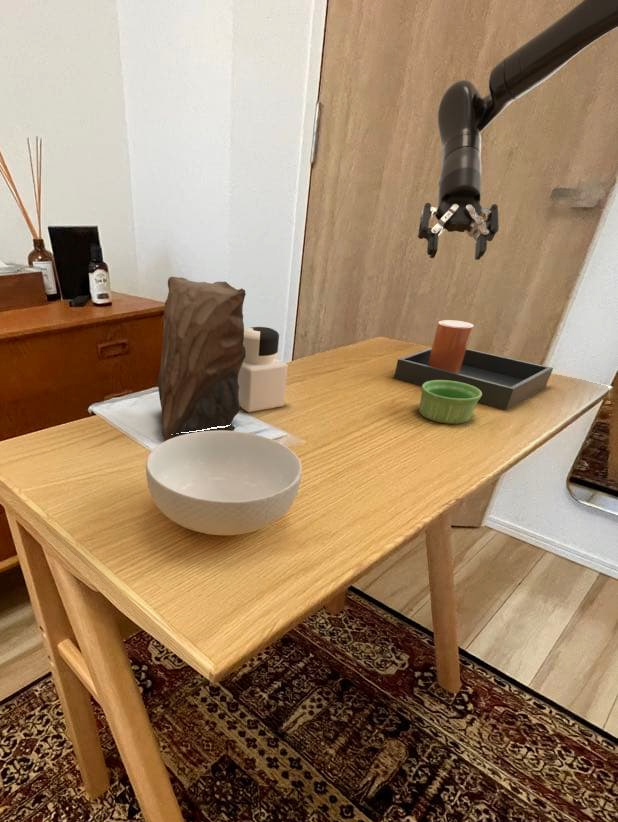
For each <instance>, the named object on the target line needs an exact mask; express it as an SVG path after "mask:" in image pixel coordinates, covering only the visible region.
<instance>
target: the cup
mask: <svg viewBox="0 0 618 822" xmlns="http://www.w3.org/2000/svg"><path fill="white" fill-rule="evenodd" d="M473 330H474V324H473V323H471V322H467V321H463V320H455V319H454V320H453V319H444V320H443V319H442V320H439V321H438V323H437V326H436V330H435V333H434V338H433V342H432V345H431V347H432V348H431V347H430V348H431V352H430V356H429V360H428V364H427V366H431V367H435V368H439V369H443V370H447V371H451V372H454V373H458V374H459V373H460V369H461V366H462V363H463V360H464V356H465V353H466V350H467V349H468V347H469V343H470V340H471V337H472V333H473Z"/></svg>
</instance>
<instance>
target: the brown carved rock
mask: <svg viewBox="0 0 618 822" xmlns="http://www.w3.org/2000/svg"><path fill="white" fill-rule="evenodd" d="M167 288H168V293H167V297H166V300H165V301H164V310H163V316H162V327H163V331H162V348H161V354H160V355H161V356H160V368H159V373H158V378H157V389H158V395H159V403H160V407H161V429H162V430H161V433H162V436H163V442H165V441H167V440H169V439H171V438H174V437H177V436H181V435H185V434H189V433H195V432H189V431H196V430H202V429H207V428H211V427H217V426H226V425H230V424H231V425H230V426H228V427H225V428H217V429H210V430H204V431H218V430H225V431H235V430H236V427H235V426H234V425H233V421H234V419H235V417H236V416H237V415H238V414H239V413H240V411H241V407H240V404H239V384H238V376H239V372H240V369H241V366H242V363H243V361H244V359H245V357H246V356H245V354H246V351H245V347H244V345H243V341H244V330H245V324H244V313H243V308H244V307H243V306H244V302H245V297H246V290H245V289H244V288H243V287H242V288H238V289H236V288H235V287H234V286H231V285H230V284H229V283H228V282H227V281H214V282H213V283H212V282H211V283H210V282H207V281H206V282H205V281H200V282H199V281H194V280H193V281H192V280H189V279H187V278H185V277H178V276H170V277H168V279H167ZM181 432H189V433H181ZM197 432H202V431H197ZM176 433H179V434H176ZM171 434H173V435H171Z"/></svg>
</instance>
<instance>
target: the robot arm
mask: <svg viewBox="0 0 618 822" xmlns="http://www.w3.org/2000/svg"><path fill="white" fill-rule="evenodd" d="M616 29H618V0H582V1H581V2H579V3H578V4H577V5H575V6H574V7H573V8H572V9H570V10H569V11H568V12H567V13H565V14H564V15H563V16H561V17H560V18H558V19H557V20H555V22H553V23H552V24H550V25H549V26H547V27H546V28H545V29H543V30H542V31H540V32H539V33H537V34H536V35H535V36H534V37H532V38H530V39H529V40H528V41H526V42H525V43H524V44H522V45H521V46H520V47H518V48H517V49H515V50H514V51H513V52H511V53H510V54H509V55H507V56H506V57H505V58H503V59H502V60H500V61H499V62H498V63H497V64H495V66H494V67H493V68H492V70H491V71H490V72H489V75H488V90H489V93H488V94H487V95H486V96H484V97H483V96H482V95H481V93H480V91H479V90H478V88H477V87H476V86H475V85H474V83H472V82H471V81H470V80H468V79H460V80H457V81H455V82H453V83H452V84H450V86H449V87H447V89H446V90H445V92H444V93H443V95H442V97H441V99H440V102H439V104H438V107H437V126H438V133H439V138H440V142H441V146H442V156H441V169H440V173H439V174H440V175H439V181H438V201H437V202H438V203H437V206H432V204H431V203H430V202H426V203H424V205H423V208H422V210H421V213H420V217H419V226H418V233H417V238H418V239H419V240H423V239H425V240H426V241H427V248H426V253H427V254H426V255H428V256H429V259H435V257H436V255H437V253H438V249H439V248H438V246H439V245H438V243H439V236H440V235H441V234H442V233H443V232H444V231H445V230H446V231H447V232H448V233H452V232H458V233H464V232H465V233H466V234H467V235H468V236H469V237H470V238H473V240H474V241H476V243H475V249H474V260H475V261H480V259H481V258H483V257H484V255H485V254H486V252H487V250H488V249H487V248H488V242H492V241H493V240H494V238H495V236H496V234H497V233H498V232H499V229H500V227H499V205H497V204H492V205H491V206H490V207H483V206H482V205H481V196H482V195H481V193H482V170H483V169H482V168H483V166H482V157H481V156H482V135H481V133H482V132H483V131H484V130H485V129H486V128H487V127H488V126H489V125H490V124H491V123H492V122H493V120H495V119H496V118H497V117H498V116H499V115H500V114H501V113H502V112H503V111H504V110H505V109H506V108H507V107H508V106H509V105H510V104H511V103H513V102H515V101H517V100H518V99H519V98H521V97H522V96H524V95H526V94H527V93H528V92H530V91H532V90H533V89H534V88H536V87H538V86H540V84H542V83H544V82H545V81H546V80H548V79H549V78H550V77H552V76H553V75H554V74H556V73H557V72H558V71H559V70H560V69H562V68H563V67H564V66H565V65H566V64H567V63H569V61H571V60H572V59H573V58H575V56H577V55H578V54H579V53H581V52H582V51H583V50H584V49H586V48H587V47H589V46H590V45H591V44H593V43H594V42H596V41H598V40H599V39H600V38H602V37H604V36H605V35H607V34H608V33H610V32H612V31H614V30H616ZM433 216H435V218H436V220H437V223H436V224H435V225H434V226H433V227H432V228H431V227H429V225H430V220H431V219H432V218H433ZM484 223H485V224H484Z"/></svg>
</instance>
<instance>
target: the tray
mask: <svg viewBox="0 0 618 822" xmlns="http://www.w3.org/2000/svg"><path fill="white" fill-rule="evenodd" d="M431 348H432V346H431V347H429V348H425V349H423V350H420V351H418V352H414V353H411V354H409V355H406V356H404V357H400V358H398V359H397V361H396V366H395V371H394V375H393V379H395V380H400V381H403V382H406V383H410V384H414V385H417V386H421V387H422V385H423V384H424V383H425V382H428V381H433V380H450V381H457V382H462V383H466V384H469V385H472V386H474V387H476V388H478V389H479V390H480V391H481V392H482V396H481V398H480V399H479V400H478V402H477V403H480V404H483V405H487V406H489V407H490V406H491V407H493V408H498V409H501V410H505V411H507V410H509V409H510V408H512V407H514V406H515V405H517V404H519V403H521V402H522V401H524V400H526V399H527V398H529V397H531V396H533V395H534V394H536V393H537V392H539V391H541V390H543V389H545V388H546V386H547V384H548V382H549V379H550V377H551V375H552V372H553V369H554V367H550V366H548V365H547V366H546V365H542V364H538V363H533V362H529V361H524V360H519V359H516V358H511V357H507V356H502V355H498V354H493V353H489V352H484V351H480V350H475V349H471V348H467V350H466V353H465V356H464V360H463V363H462V366H461V369H460V373H459V374H458V373H454V372H451V371H447V370H443V369H439V368H435V367H431V366H427V364H428V360H429V356H430V352H431Z"/></svg>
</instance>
